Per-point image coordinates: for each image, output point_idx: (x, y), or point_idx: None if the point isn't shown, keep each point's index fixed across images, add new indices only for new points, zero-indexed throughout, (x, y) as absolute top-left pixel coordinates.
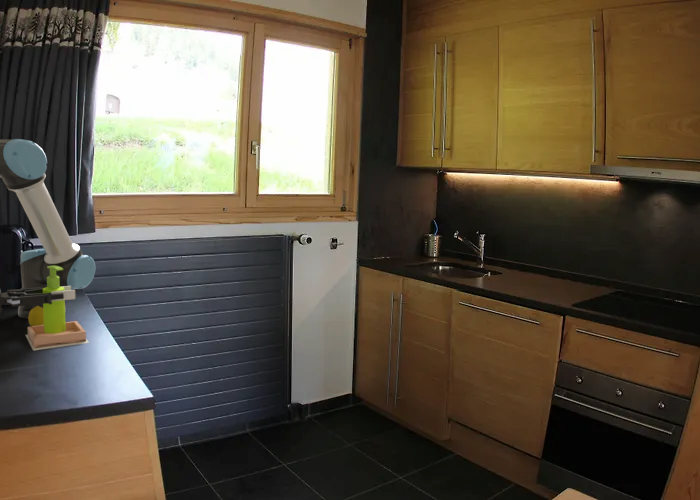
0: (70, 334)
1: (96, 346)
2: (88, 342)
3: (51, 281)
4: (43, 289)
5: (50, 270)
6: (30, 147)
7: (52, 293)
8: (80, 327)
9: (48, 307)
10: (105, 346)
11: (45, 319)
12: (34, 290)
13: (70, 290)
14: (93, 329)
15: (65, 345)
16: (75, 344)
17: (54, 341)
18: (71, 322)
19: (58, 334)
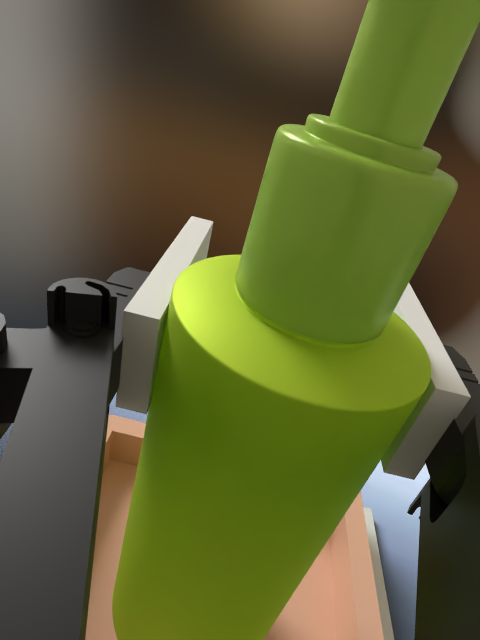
0: (367, 558)
1: (407, 505)
2: (366, 510)
3: (430, 235)
4: (314, 394)
5: (469, 8)
6: None
7: (455, 400)
8: None
9: (325, 543)
10: (419, 480)
11: (241, 636)
12: (95, 482)
13: (407, 285)
14: None
15: (383, 636)
16: (382, 577)
17: None
18: (107, 442)
19: (368, 633)
